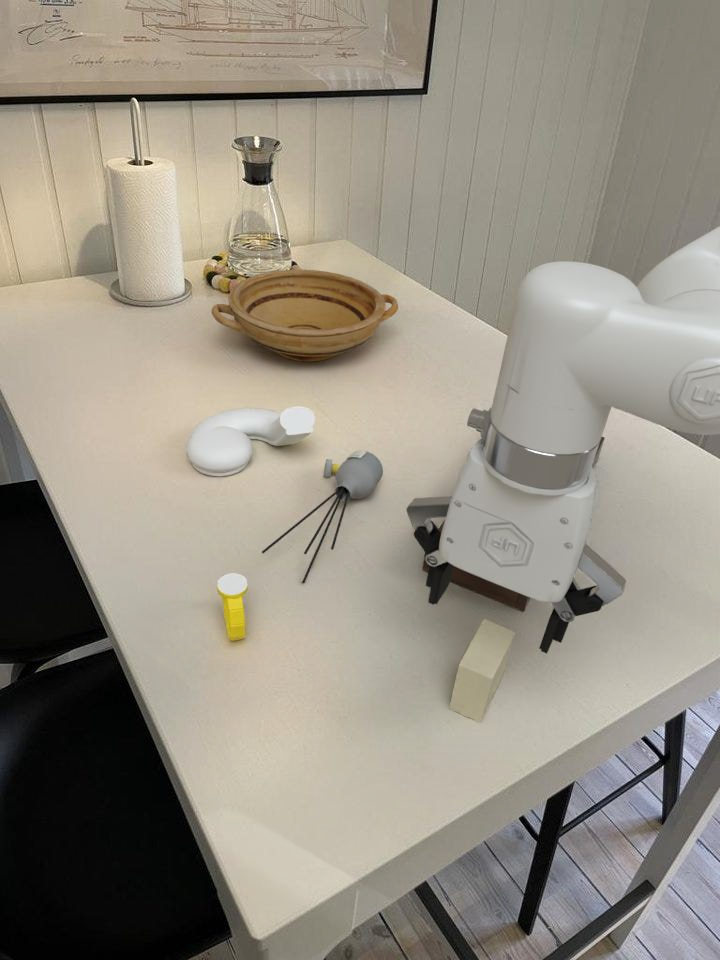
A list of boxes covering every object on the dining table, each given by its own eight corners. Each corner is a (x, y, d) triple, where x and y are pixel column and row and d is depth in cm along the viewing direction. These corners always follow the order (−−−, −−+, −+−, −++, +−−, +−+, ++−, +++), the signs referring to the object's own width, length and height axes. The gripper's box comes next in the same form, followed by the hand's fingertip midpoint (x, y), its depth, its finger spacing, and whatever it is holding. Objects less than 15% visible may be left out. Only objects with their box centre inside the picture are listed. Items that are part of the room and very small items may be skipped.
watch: (215, 606, 74) (212, 562, 70) (243, 602, 75) (242, 558, 71) (223, 653, 69) (221, 608, 66) (253, 648, 70) (252, 603, 67)
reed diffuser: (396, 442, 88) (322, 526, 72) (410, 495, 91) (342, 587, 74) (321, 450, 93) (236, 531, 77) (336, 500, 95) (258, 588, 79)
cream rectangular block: (502, 675, 70) (515, 631, 66) (480, 723, 65) (492, 679, 62) (472, 662, 71) (483, 618, 67) (448, 708, 66) (458, 664, 63)
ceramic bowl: (370, 308, 134) (374, 264, 129) (419, 373, 116) (425, 325, 111) (202, 318, 126) (199, 272, 121) (226, 390, 107) (224, 339, 103)
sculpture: (177, 433, 98) (172, 380, 93) (288, 418, 103) (289, 366, 98) (195, 488, 89) (191, 432, 84) (316, 468, 94) (318, 414, 89)
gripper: (403, 431, 52) (378, 603, 62) (655, 520, 46) (582, 694, 57) (444, 387, 58) (415, 552, 68) (674, 462, 52) (605, 630, 62)
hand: (491, 616), depth 62 cm, fingers open, 9 cm apart
